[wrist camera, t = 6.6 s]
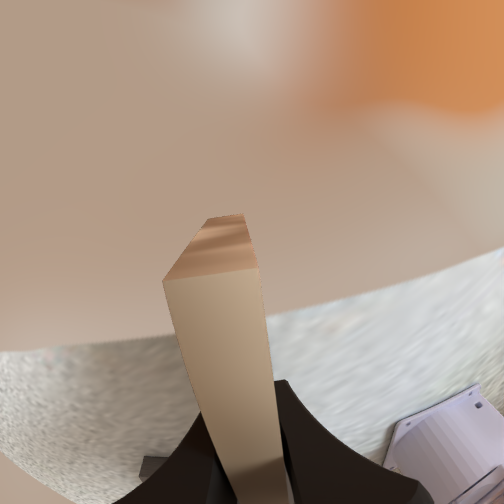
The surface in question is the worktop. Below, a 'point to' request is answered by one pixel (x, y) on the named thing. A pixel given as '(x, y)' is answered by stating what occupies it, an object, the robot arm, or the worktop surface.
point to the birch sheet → (230, 355)
